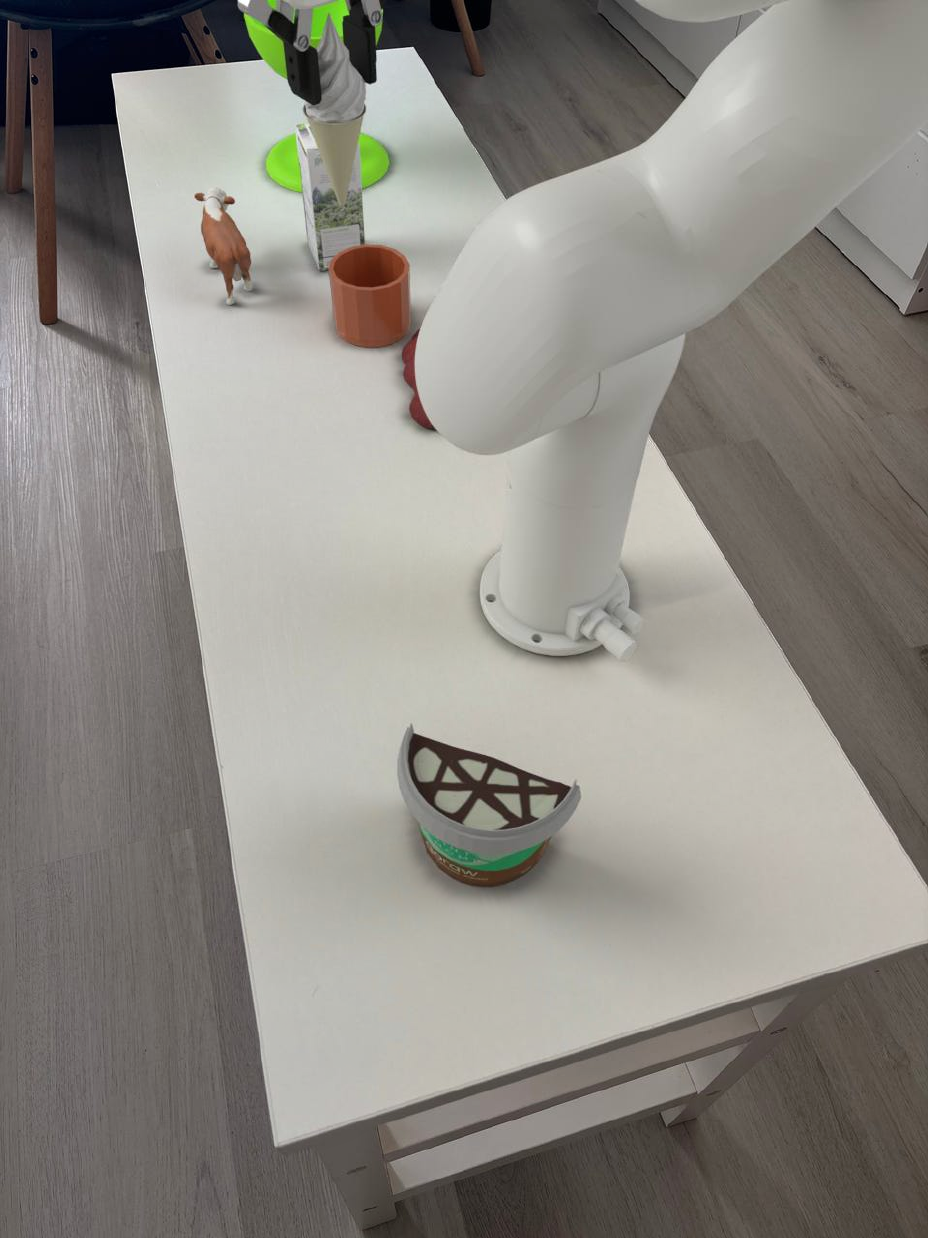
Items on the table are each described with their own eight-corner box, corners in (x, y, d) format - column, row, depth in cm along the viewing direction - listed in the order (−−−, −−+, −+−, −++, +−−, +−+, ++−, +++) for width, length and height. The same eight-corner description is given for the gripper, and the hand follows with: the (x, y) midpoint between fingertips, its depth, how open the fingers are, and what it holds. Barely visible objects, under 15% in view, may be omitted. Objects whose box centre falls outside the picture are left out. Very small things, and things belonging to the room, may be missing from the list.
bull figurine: (240, 243, 115) (228, 175, 109) (261, 308, 107) (250, 239, 101) (202, 248, 114) (188, 181, 108) (222, 315, 107) (208, 246, 100)
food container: (372, 867, 68) (363, 799, 60) (407, 792, 72) (403, 720, 64) (541, 930, 65) (555, 869, 58) (568, 850, 69) (585, 782, 61)
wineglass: (353, 122, 134) (343, -27, 120) (411, 174, 126) (408, 20, 111) (245, 150, 128) (221, -2, 114) (299, 207, 120) (279, 50, 106)
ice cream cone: (364, 223, 82) (352, 29, 70) (305, 216, 82) (283, 22, 71) (378, 192, 85) (368, 1, 73) (321, 185, 86) (303, -6, 74)
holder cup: (426, 327, 106) (425, 269, 100) (366, 357, 102) (362, 299, 97) (378, 293, 110) (375, 235, 104) (319, 321, 106) (313, 263, 101)
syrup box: (354, 238, 116) (345, 114, 105) (367, 265, 113) (359, 140, 101) (307, 246, 115) (293, 121, 104) (319, 273, 112) (305, 147, 100)
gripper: (232, -174, 56) (273, 140, 71) (450, -221, 64) (447, 73, 78) (162, -204, 60) (215, 102, 74) (377, -246, 67) (387, 41, 81)
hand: (334, 84), depth 76 cm, fingers closed on ice cream cone, 4 cm apart
